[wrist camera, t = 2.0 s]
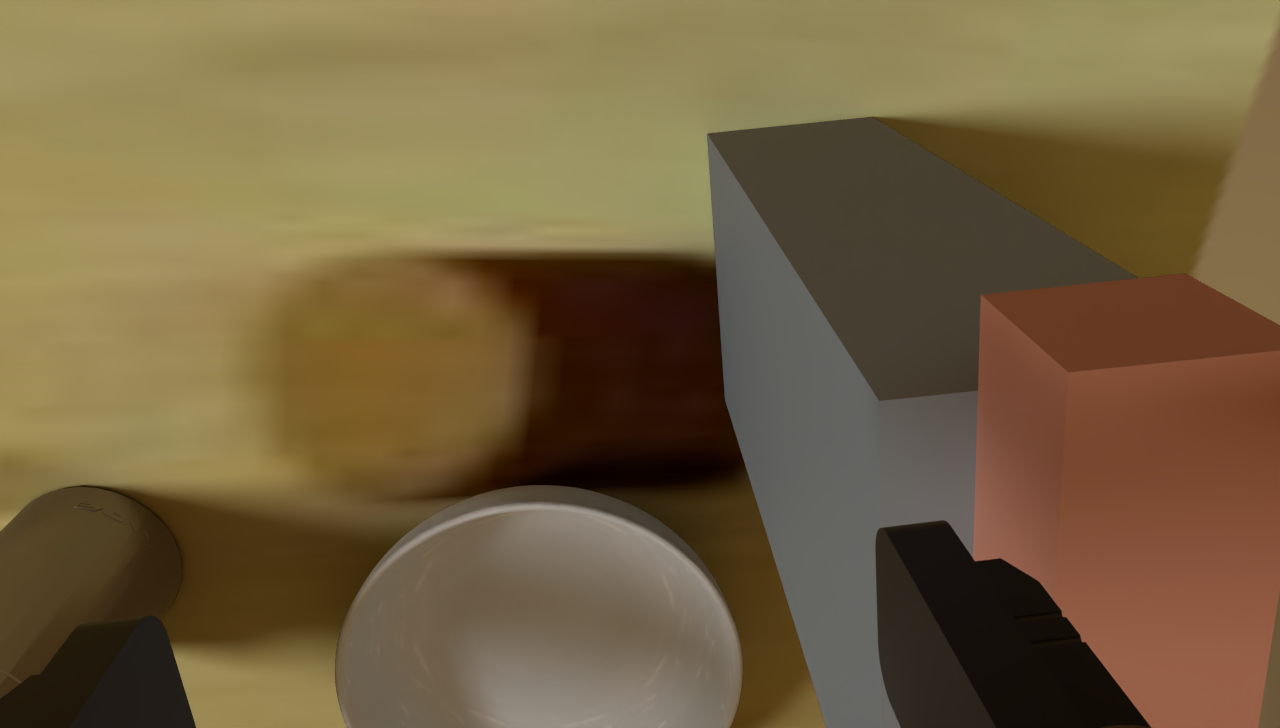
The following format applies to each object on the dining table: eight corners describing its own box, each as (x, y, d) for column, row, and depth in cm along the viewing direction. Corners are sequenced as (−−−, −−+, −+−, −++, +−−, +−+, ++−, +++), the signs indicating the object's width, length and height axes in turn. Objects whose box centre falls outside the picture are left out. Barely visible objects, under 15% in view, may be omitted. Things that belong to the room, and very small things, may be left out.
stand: (1052, 512, 60) (1516, 1076, 30) (734, 545, 60) (885, 1147, 30) (1078, 96, 51) (1762, 309, 21) (707, 133, 51) (879, 400, 21)
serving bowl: (346, 732, 63) (319, 821, 57) (378, 415, 56) (351, 476, 49) (688, 769, 65) (699, 859, 59) (763, 469, 58) (785, 535, 52)
